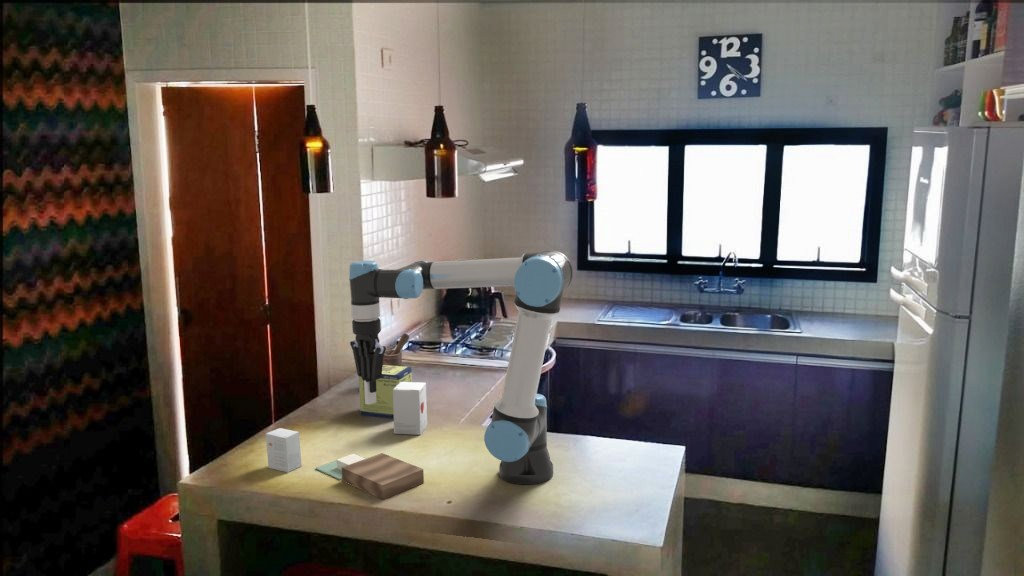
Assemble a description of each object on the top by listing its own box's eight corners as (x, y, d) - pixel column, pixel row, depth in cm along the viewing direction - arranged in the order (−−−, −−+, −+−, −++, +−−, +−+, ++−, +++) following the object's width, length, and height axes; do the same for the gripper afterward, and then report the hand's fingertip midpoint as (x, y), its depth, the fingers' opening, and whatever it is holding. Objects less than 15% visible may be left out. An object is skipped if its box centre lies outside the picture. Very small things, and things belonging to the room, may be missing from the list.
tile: (371, 468, 234) (370, 460, 233) (353, 475, 229) (353, 466, 229) (354, 461, 239) (353, 453, 239) (336, 467, 235) (336, 459, 234)
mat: (380, 465, 237) (380, 463, 237) (340, 480, 227) (340, 478, 227) (355, 455, 245) (355, 453, 245) (315, 469, 235) (315, 467, 235)
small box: (302, 466, 237) (299, 431, 236) (287, 473, 233) (285, 437, 231) (282, 461, 241) (279, 427, 240) (267, 467, 237) (265, 433, 235)
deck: (423, 482, 224) (423, 469, 224) (383, 499, 214) (382, 485, 214) (382, 466, 237) (382, 452, 236) (342, 481, 226) (341, 467, 226)
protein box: (401, 419, 276) (399, 374, 274) (359, 415, 281) (357, 371, 278) (414, 409, 286) (412, 366, 283) (373, 406, 291) (371, 363, 288)
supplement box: (420, 435, 261) (419, 390, 258) (393, 434, 262) (391, 389, 260) (428, 425, 270) (426, 381, 267) (401, 424, 271) (400, 381, 268)
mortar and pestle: (401, 379, 323) (399, 329, 320) (413, 383, 317) (412, 333, 313) (376, 385, 316) (373, 334, 312) (388, 390, 309) (386, 338, 306)
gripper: (392, 319, 218) (396, 404, 223) (362, 313, 227) (367, 395, 231) (369, 324, 213) (374, 411, 217) (340, 317, 222) (345, 401, 226)
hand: (370, 402), depth 224 cm, fingers closed
